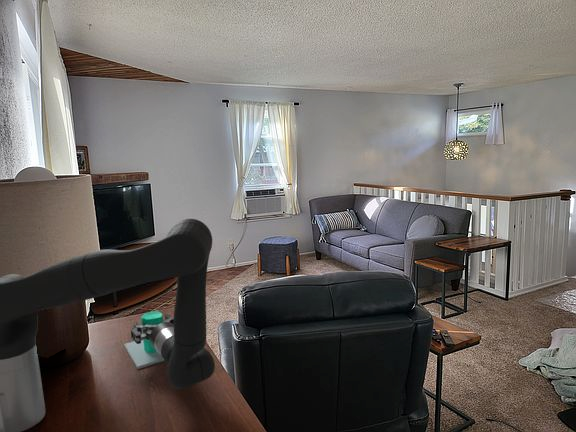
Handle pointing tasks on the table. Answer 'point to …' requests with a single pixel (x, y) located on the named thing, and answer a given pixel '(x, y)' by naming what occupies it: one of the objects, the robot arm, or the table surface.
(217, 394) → the table surface
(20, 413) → the robot arm
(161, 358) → the tile
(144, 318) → the candle
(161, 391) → the table surface
